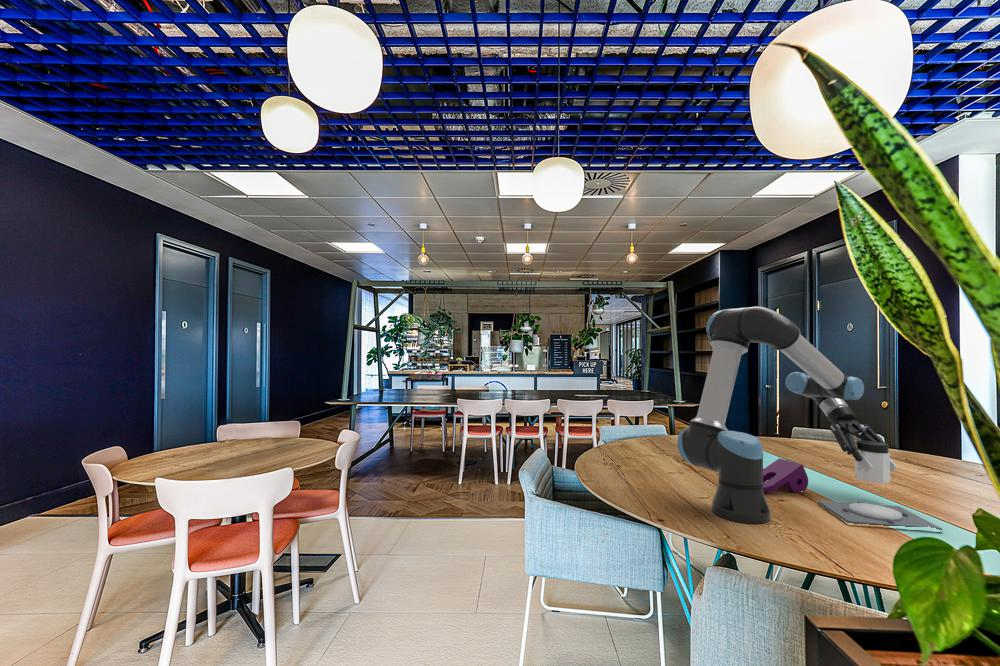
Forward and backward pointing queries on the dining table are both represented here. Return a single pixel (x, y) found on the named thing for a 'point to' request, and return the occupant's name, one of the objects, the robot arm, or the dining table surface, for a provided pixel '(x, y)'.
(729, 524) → the dining table surface
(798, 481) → the mounting bracket
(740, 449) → the robot arm
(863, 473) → the jar
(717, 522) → the dining table surface
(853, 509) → the board
